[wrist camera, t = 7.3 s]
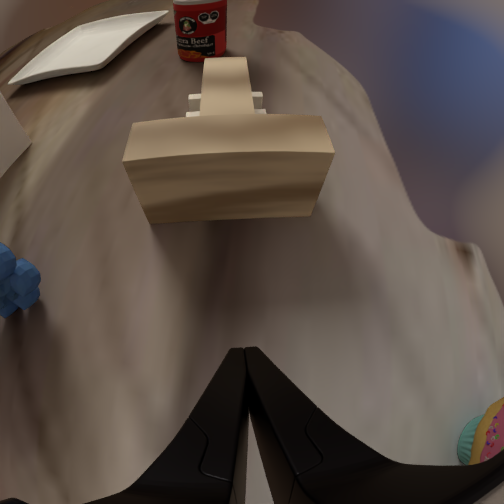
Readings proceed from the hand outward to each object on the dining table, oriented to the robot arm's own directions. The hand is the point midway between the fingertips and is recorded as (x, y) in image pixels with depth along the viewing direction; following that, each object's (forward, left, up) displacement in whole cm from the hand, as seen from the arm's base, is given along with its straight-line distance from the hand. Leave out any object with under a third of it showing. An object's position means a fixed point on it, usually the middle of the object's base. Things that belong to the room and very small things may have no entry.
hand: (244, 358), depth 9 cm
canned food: (+35, -30, -12) cm, 47 cm away
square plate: (+60, -21, -13) cm, 65 cm away
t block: (+14, -14, -12) cm, 23 cm away
